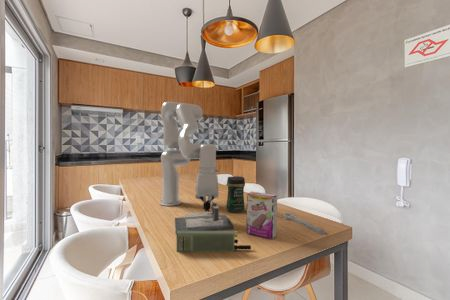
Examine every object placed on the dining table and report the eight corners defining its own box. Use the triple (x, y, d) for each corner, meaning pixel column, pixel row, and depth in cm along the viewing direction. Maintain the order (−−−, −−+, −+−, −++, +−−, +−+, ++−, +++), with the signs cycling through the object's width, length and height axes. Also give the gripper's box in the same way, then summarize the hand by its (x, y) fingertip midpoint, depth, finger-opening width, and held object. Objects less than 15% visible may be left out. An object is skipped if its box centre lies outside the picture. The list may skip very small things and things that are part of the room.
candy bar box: (245, 234, 89) (246, 193, 89) (250, 230, 93) (251, 191, 93) (272, 240, 83) (273, 196, 83) (276, 235, 88) (277, 194, 87)
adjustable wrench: (327, 235, 90) (328, 231, 90) (314, 237, 88) (315, 232, 88) (290, 215, 114) (290, 212, 114) (279, 217, 112) (279, 213, 112)
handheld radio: (177, 248, 77) (250, 248, 77) (175, 253, 73) (251, 253, 74) (177, 229, 76) (250, 229, 77) (175, 233, 73) (251, 234, 73)
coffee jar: (229, 213, 115) (229, 177, 114) (224, 209, 122) (225, 175, 122) (246, 212, 118) (247, 177, 117) (241, 208, 125) (241, 175, 125)
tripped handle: (211, 214, 104) (211, 201, 104) (215, 214, 105) (215, 201, 105) (212, 216, 102) (212, 202, 102) (216, 216, 103) (216, 202, 103)
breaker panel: (174, 221, 103) (174, 213, 103) (225, 217, 108) (225, 210, 108) (175, 233, 88) (175, 225, 88) (233, 229, 94) (233, 220, 94)
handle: (213, 220, 96) (213, 206, 96) (217, 220, 97) (217, 205, 97) (214, 222, 94) (214, 207, 94) (218, 222, 95) (218, 207, 95)
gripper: (221, 169, 107) (220, 207, 108) (190, 170, 104) (189, 209, 105) (225, 171, 100) (224, 212, 101) (191, 172, 97) (191, 214, 97)
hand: (206, 210), depth 103 cm, fingers closed
